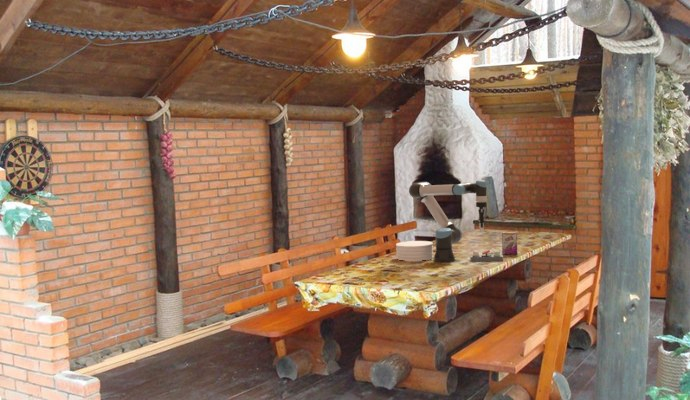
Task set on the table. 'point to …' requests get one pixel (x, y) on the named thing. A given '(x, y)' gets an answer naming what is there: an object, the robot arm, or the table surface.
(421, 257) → the plate stack
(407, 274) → the table surface
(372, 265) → the table surface
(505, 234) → the candy bar box
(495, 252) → the pale green cube
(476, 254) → the cream rounded ball
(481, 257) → the panel
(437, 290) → the table surface
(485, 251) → the rocker
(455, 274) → the table surface
